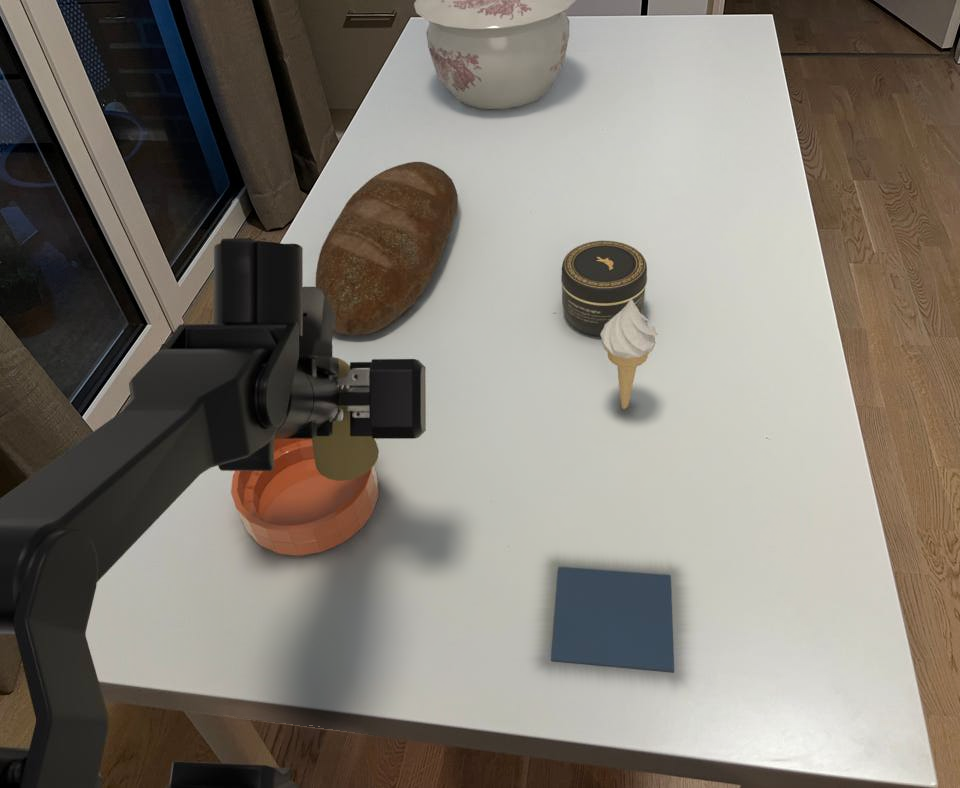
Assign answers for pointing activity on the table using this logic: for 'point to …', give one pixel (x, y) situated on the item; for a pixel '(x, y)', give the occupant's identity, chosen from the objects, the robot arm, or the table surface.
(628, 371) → the ice cream cone
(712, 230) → the table surface
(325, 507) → the bowl
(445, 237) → the bread
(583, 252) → the jar
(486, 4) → the chamber pot
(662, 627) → the mat
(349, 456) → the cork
